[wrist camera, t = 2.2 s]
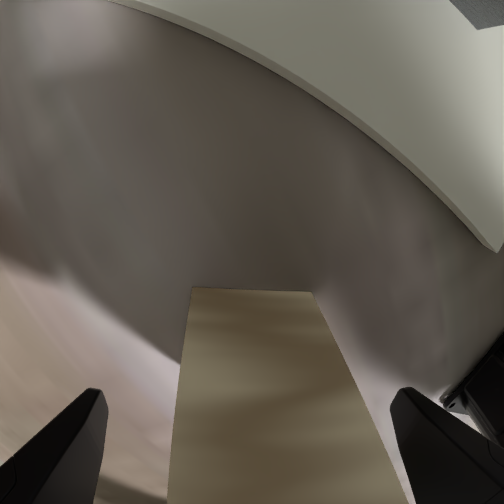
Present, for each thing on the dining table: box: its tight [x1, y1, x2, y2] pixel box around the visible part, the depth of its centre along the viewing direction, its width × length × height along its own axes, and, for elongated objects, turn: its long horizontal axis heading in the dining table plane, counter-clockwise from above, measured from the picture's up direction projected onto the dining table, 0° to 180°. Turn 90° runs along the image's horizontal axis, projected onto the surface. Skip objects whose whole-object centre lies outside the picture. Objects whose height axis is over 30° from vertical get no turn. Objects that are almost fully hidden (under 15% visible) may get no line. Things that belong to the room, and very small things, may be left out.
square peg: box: [167, 287, 409, 504], centre depth 7 cm, size 4×4×9 cm
